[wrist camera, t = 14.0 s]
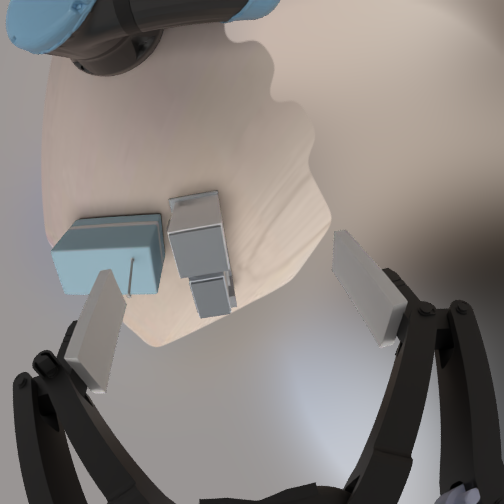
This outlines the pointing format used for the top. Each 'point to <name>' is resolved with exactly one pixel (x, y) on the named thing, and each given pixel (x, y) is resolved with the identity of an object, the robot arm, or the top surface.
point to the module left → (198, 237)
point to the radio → (111, 253)
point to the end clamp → (231, 294)
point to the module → (211, 294)
